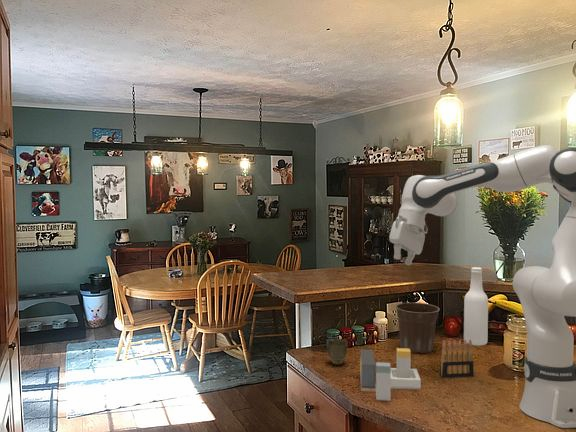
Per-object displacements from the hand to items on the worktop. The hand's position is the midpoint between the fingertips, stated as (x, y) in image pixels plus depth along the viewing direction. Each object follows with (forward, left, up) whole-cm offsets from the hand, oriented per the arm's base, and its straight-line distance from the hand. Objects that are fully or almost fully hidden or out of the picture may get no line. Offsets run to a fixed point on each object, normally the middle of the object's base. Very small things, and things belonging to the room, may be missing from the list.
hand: (402, 261), depth 163 cm
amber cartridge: (+1, +12, -36) cm, 38 cm away
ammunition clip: (-17, +4, -37) cm, 41 cm away
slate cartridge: (+8, +24, -37) cm, 44 cm away
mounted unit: (+12, +12, -37) cm, 40 cm away
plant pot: (-8, -23, -37) cm, 44 cm away
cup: (+22, -3, -37) cm, 43 cm away
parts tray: (+1, +12, -37) cm, 38 cm away
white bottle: (-32, -33, -37) cm, 59 cm away
